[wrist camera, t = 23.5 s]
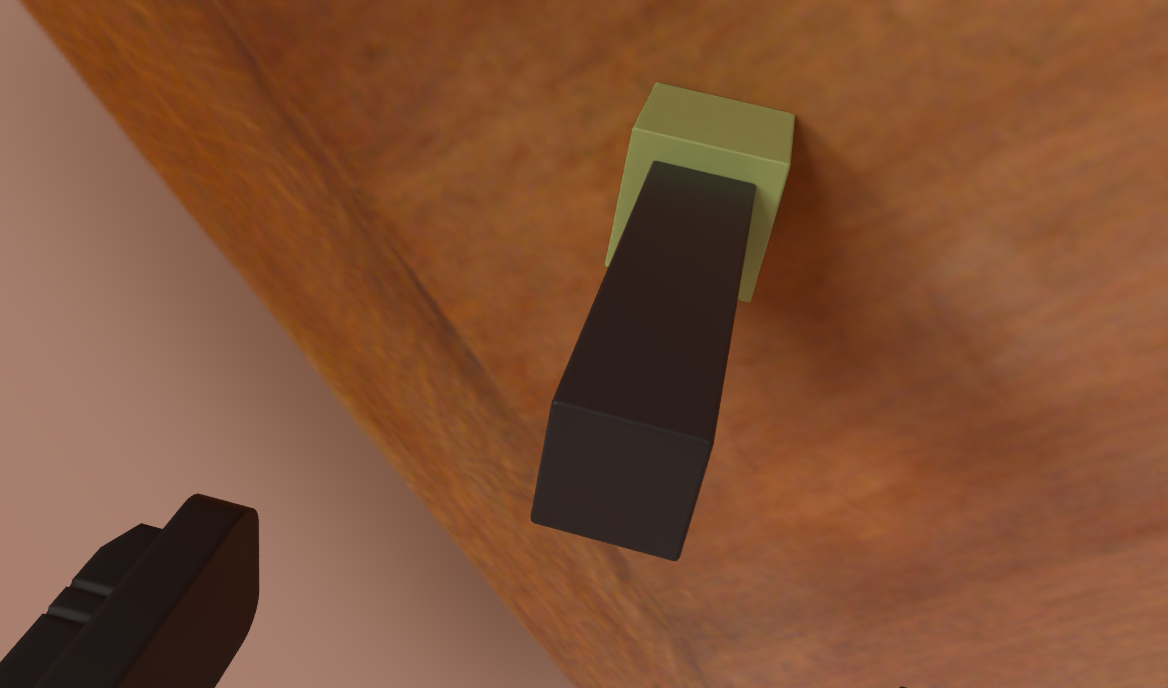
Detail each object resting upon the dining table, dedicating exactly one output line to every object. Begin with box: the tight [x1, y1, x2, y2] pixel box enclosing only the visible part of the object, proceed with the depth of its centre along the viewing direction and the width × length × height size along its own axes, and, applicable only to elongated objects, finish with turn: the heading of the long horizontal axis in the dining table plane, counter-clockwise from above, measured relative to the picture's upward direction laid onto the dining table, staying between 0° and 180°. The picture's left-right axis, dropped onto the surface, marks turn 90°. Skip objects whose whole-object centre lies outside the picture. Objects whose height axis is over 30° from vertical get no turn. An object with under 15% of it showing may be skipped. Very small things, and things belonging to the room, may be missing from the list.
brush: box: [531, 82, 795, 561], centre depth 21 cm, size 4×4×14 cm
